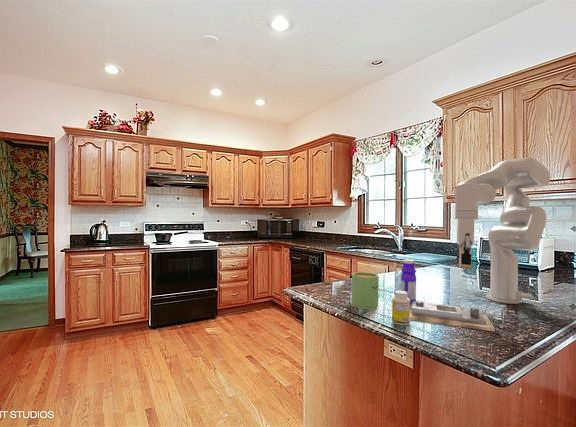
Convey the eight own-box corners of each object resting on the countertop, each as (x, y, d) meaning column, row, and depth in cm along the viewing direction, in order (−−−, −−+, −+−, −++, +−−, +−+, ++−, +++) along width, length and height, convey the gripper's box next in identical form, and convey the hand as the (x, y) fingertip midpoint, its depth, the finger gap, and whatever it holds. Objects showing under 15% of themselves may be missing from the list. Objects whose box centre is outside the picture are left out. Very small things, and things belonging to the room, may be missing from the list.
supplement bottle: (395, 318, 105) (396, 289, 105) (412, 322, 101) (412, 291, 101) (389, 323, 101) (389, 291, 101) (406, 327, 97) (406, 295, 97)
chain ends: (481, 316, 106) (481, 306, 106) (485, 324, 98) (486, 314, 98) (412, 307, 115) (412, 298, 115) (411, 314, 107) (411, 304, 107)
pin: (470, 267, 118) (471, 246, 118) (472, 269, 114) (472, 247, 114) (458, 266, 119) (459, 246, 119) (459, 268, 116) (460, 247, 116)
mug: (374, 311, 113) (375, 278, 113) (347, 306, 119) (348, 275, 119) (383, 303, 124) (384, 273, 124) (358, 298, 130) (359, 270, 130)
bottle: (417, 305, 121) (418, 261, 121) (402, 304, 122) (402, 260, 122) (413, 300, 128) (414, 258, 128) (399, 299, 130) (400, 258, 130)
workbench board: (486, 317, 107) (486, 315, 107) (494, 331, 95) (494, 328, 95) (407, 307, 118) (407, 305, 118) (405, 318, 105) (405, 315, 105)
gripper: (453, 215, 126) (452, 260, 126) (457, 215, 111) (456, 265, 111) (474, 216, 123) (473, 261, 123) (481, 215, 108) (480, 267, 107)
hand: (465, 263), depth 117 cm, fingers closed on pin, 4 cm apart
